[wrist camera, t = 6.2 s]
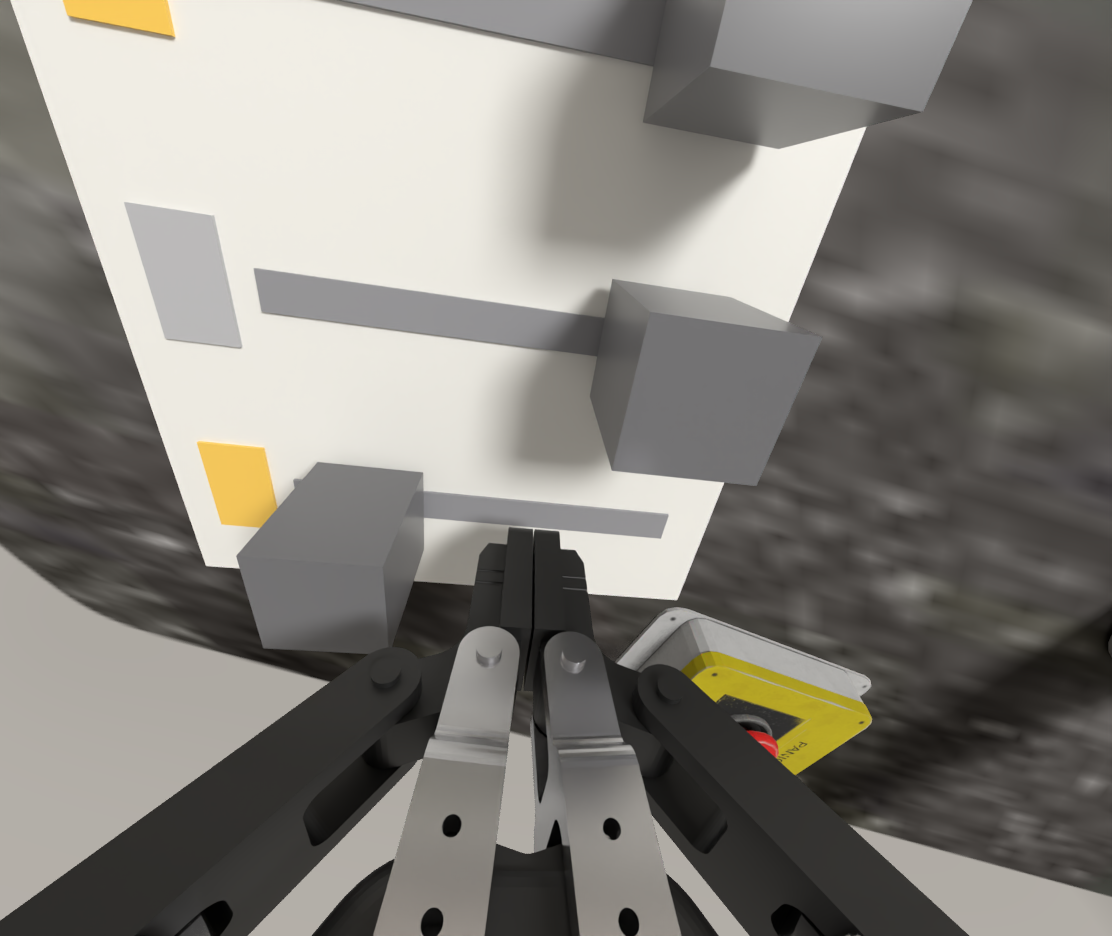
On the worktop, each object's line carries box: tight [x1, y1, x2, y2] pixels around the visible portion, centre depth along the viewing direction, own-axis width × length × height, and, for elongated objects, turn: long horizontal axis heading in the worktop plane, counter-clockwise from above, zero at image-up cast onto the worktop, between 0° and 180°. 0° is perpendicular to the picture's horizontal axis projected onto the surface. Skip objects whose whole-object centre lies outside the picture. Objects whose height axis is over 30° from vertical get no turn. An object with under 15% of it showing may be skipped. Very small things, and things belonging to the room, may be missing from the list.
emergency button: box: [615, 607, 872, 775], centre depth 24 cm, size 9×4×15 cm
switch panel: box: [11, 0, 866, 600], centre depth 12 cm, size 17×19×3 cm
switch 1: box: [236, 462, 424, 654], centre depth 12 cm, size 3×3×4 cm
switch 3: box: [590, 279, 822, 486], centre depth 10 cm, size 3×3×4 cm
